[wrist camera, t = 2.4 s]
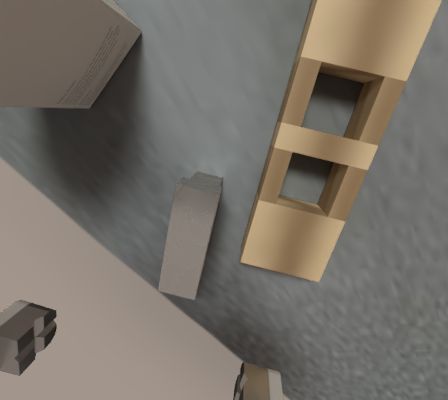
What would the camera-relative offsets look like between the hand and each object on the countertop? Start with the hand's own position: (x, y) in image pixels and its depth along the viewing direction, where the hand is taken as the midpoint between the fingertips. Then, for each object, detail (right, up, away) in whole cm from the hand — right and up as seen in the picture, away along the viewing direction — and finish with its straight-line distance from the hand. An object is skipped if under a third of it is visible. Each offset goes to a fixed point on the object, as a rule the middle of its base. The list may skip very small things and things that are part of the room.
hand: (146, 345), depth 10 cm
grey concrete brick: (+1, +5, +13) cm, 14 cm away
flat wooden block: (+11, +11, +10) cm, 18 cm away
